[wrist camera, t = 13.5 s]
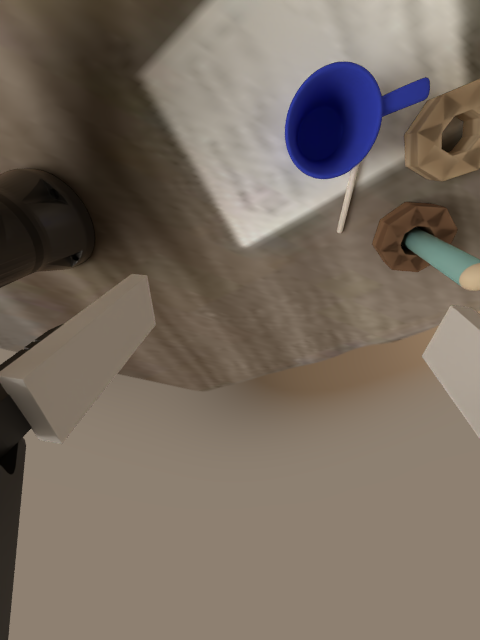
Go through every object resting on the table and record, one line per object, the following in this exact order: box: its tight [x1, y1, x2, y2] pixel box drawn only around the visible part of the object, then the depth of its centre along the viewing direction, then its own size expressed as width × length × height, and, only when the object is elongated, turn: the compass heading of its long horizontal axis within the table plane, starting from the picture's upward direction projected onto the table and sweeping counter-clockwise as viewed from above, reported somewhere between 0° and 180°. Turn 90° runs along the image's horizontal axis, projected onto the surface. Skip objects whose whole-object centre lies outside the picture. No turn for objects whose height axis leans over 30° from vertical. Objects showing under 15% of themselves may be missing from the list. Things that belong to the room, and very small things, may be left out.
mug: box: [285, 62, 430, 179], centre depth 26 cm, size 8×12×10 cm
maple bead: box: [404, 79, 480, 181], centre depth 27 cm, size 8×8×4 cm
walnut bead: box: [372, 202, 458, 272], centre depth 33 cm, size 8×8×4 cm
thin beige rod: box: [337, 163, 360, 233], centre depth 32 cm, size 15×1×1 cm, turn 178°
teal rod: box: [401, 227, 480, 291], centre depth 28 cm, size 2×2×16 cm
